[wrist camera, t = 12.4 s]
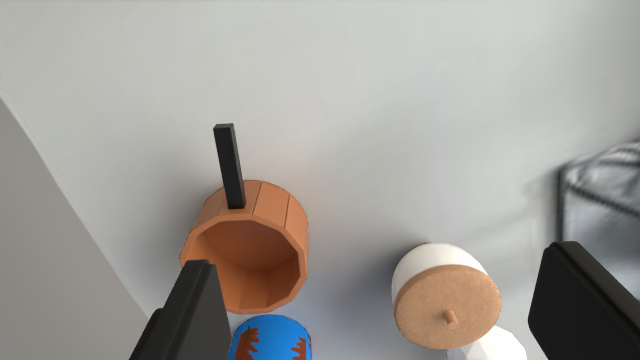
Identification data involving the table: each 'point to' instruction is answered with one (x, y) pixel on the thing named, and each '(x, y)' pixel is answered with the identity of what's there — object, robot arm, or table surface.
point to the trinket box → (443, 297)
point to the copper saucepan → (250, 237)
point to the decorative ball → (490, 348)
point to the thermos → (270, 340)
